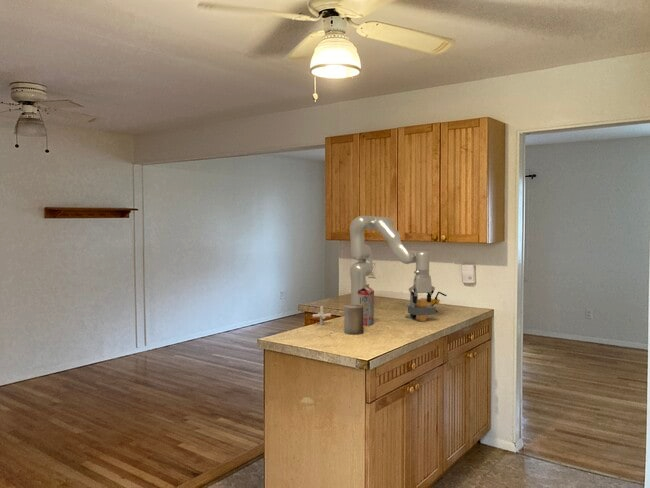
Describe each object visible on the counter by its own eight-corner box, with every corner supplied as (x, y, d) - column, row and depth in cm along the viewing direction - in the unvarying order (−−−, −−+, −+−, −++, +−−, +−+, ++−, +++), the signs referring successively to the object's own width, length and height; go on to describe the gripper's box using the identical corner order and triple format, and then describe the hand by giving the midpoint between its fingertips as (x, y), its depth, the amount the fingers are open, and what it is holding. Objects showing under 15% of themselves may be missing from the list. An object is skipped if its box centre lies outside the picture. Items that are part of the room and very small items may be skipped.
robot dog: (445, 314, 309) (445, 292, 308) (417, 311, 318) (417, 290, 317) (447, 312, 314) (448, 291, 313) (419, 310, 323) (420, 289, 322)
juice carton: (373, 324, 276) (374, 284, 275) (368, 326, 270) (368, 285, 269) (362, 323, 279) (363, 283, 278) (357, 325, 274) (357, 284, 273)
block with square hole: (417, 322, 282) (418, 297, 281) (400, 317, 298) (400, 293, 297) (435, 321, 286) (435, 296, 286) (417, 315, 303) (417, 292, 302)
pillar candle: (367, 332, 255) (367, 303, 254) (354, 335, 248) (354, 305, 248) (353, 329, 262) (353, 301, 261) (340, 332, 255) (340, 303, 255)
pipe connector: (314, 326, 268) (315, 308, 267) (310, 323, 277) (310, 305, 277) (332, 326, 271) (333, 307, 270) (327, 322, 280) (328, 304, 280)
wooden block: (416, 320, 290) (416, 299, 289) (422, 319, 291) (422, 299, 291) (420, 321, 286) (420, 300, 285) (426, 320, 288) (426, 300, 287)
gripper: (413, 273, 280) (412, 304, 281) (438, 273, 287) (438, 302, 288) (405, 272, 287) (405, 302, 288) (431, 271, 294) (430, 300, 295)
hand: (421, 302), depth 288 cm, fingers open, 9 cm apart
